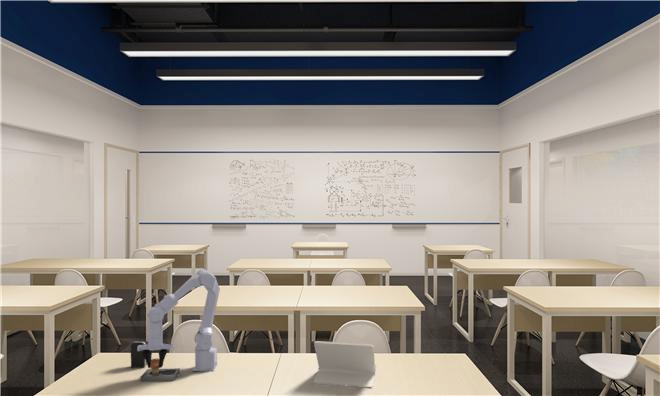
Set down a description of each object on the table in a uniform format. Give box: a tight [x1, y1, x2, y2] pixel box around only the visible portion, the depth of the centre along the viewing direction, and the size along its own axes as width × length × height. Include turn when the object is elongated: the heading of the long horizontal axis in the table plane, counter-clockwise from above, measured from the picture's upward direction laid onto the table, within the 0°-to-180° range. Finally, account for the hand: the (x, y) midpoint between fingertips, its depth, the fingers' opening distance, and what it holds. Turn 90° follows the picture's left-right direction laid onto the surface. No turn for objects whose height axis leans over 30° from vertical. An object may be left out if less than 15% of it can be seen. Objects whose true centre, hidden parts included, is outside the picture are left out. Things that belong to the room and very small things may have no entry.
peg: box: [149, 357, 161, 374], centre depth 179 cm, size 4×4×6 cm
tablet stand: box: [312, 340, 377, 388], centre depth 179 cm, size 18×25×17 cm
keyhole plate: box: [139, 367, 181, 383], centre depth 179 cm, size 14×8×2 cm, turn 93°
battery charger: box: [130, 340, 148, 368], centre depth 192 cm, size 7×4×11 cm, turn 85°
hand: (155, 367), depth 179 cm, fingers closed on peg, 4 cm apart
